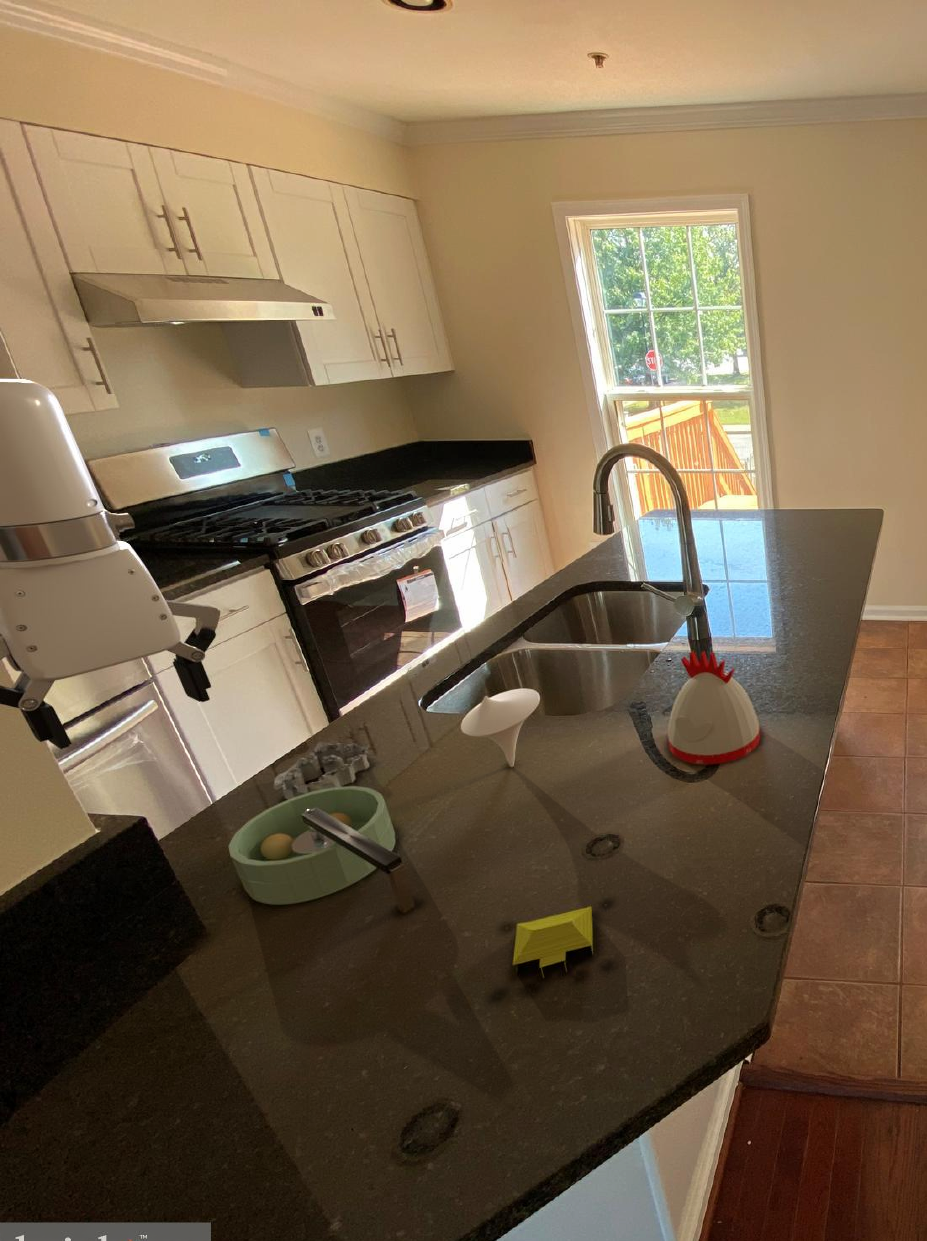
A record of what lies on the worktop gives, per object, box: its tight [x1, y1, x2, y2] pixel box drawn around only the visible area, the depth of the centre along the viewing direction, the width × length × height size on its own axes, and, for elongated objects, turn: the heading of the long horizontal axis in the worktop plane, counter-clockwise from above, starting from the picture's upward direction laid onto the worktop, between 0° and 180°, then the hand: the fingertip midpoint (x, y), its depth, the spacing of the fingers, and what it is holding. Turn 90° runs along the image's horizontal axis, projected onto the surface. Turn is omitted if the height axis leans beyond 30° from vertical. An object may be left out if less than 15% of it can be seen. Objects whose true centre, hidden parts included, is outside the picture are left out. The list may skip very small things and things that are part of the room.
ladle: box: [292, 807, 416, 914], centre depth 78 cm, size 19×5×7 cm, turn 62°
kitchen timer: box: [667, 650, 761, 766], centre depth 105 cm, size 14×14×15 cm
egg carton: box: [273, 741, 371, 800], centre depth 96 cm, size 11×8×4 cm
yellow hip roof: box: [497, 903, 607, 998], centre depth 70 cm, size 10×9×3 cm
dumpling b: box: [330, 813, 352, 827], centre depth 85 cm, size 3×3×3 cm
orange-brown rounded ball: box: [261, 833, 293, 860], centre depth 81 cm, size 3×3×3 cm
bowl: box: [228, 785, 397, 906], centre depth 81 cm, size 14×14×6 cm
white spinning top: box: [460, 688, 541, 768], centre depth 99 cm, size 10×11×12 cm
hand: (133, 719), depth 64 cm, fingers open, 9 cm apart
